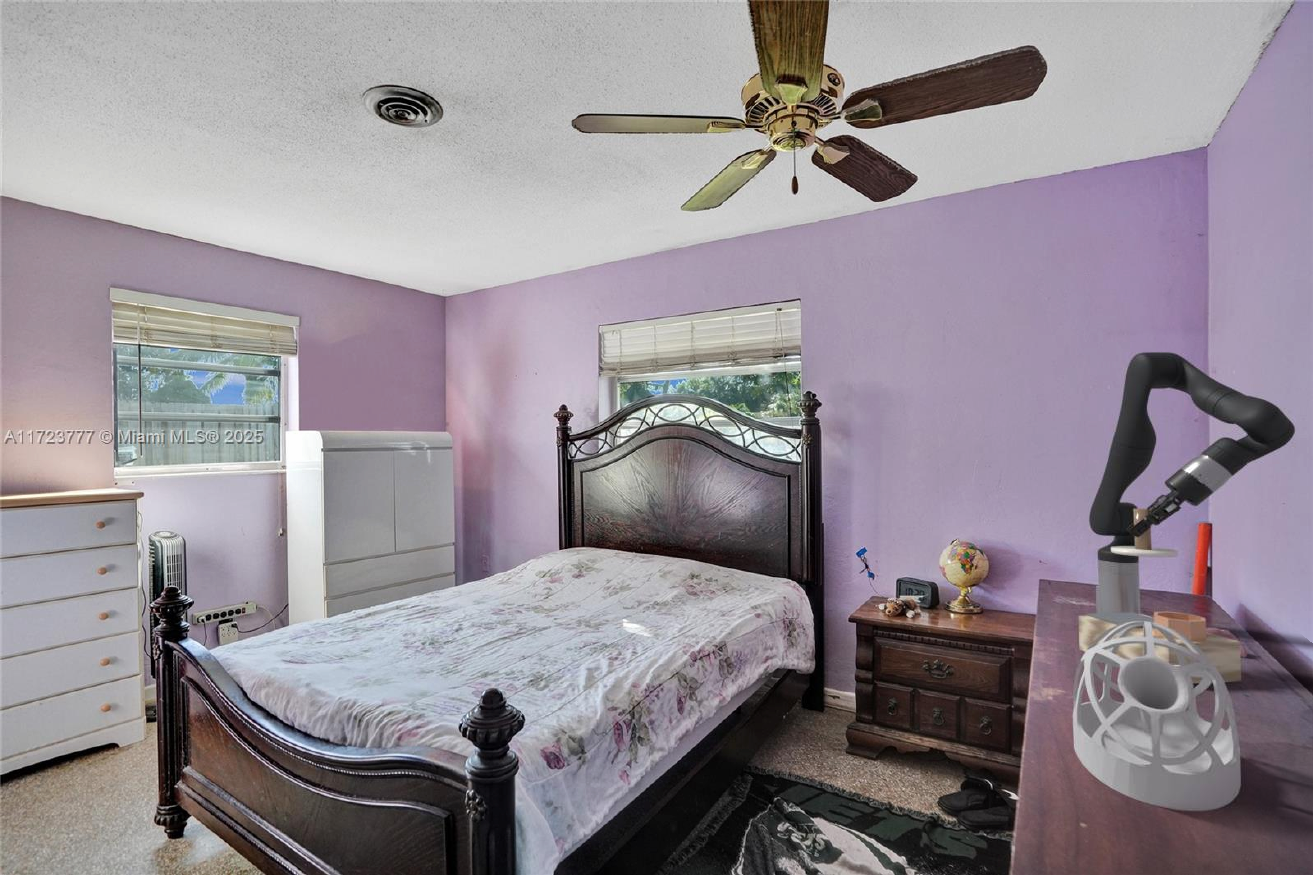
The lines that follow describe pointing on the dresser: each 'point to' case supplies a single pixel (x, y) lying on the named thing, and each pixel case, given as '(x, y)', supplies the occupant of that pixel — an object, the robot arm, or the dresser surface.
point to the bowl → (1182, 624)
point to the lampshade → (1156, 724)
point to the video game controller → (1227, 635)
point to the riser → (1215, 648)
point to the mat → (1121, 617)
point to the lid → (1143, 542)
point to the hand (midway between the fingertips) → (1131, 533)
